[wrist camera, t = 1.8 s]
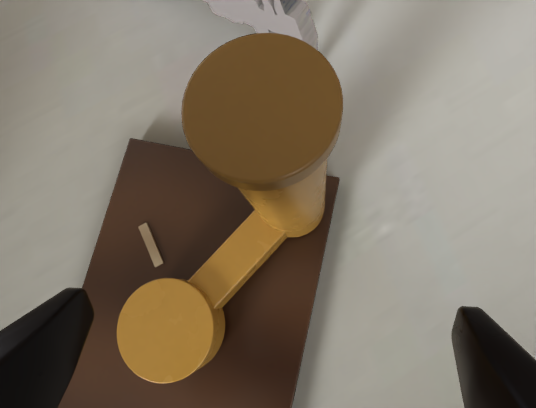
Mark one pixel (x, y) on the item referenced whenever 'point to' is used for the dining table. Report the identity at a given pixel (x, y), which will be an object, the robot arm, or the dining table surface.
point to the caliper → (270, 16)
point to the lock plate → (184, 267)
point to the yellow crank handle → (247, 181)
